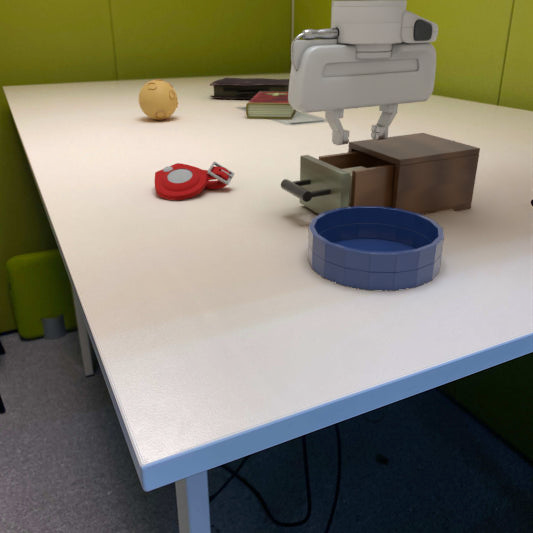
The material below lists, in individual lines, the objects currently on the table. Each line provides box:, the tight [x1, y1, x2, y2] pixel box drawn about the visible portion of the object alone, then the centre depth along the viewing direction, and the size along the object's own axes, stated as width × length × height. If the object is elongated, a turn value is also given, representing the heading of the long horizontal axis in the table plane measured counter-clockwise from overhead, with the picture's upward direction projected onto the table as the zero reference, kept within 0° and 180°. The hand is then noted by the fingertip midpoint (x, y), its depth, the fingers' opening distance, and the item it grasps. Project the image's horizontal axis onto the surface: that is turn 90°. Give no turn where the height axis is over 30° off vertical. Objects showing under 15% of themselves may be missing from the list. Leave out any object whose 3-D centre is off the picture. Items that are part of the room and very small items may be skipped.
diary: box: [209, 77, 290, 100], centre depth 177 cm, size 19×25×5 cm
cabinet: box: [347, 132, 481, 216], centre depth 78 cm, size 14×12×9 cm
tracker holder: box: [154, 161, 235, 201], centre depth 87 cm, size 12×4×10 cm
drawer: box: [280, 151, 396, 215], centre depth 74 cm, size 17×10×7 cm, turn 116°
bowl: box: [307, 206, 445, 292], centre depth 60 cm, size 14×14×4 cm
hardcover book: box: [245, 92, 297, 120], centre depth 151 cm, size 12×21×4 cm, turn 172°
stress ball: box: [138, 78, 179, 121], centre depth 140 cm, size 10×10×10 cm
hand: (359, 141), depth 72 cm, fingers open, 5 cm apart
